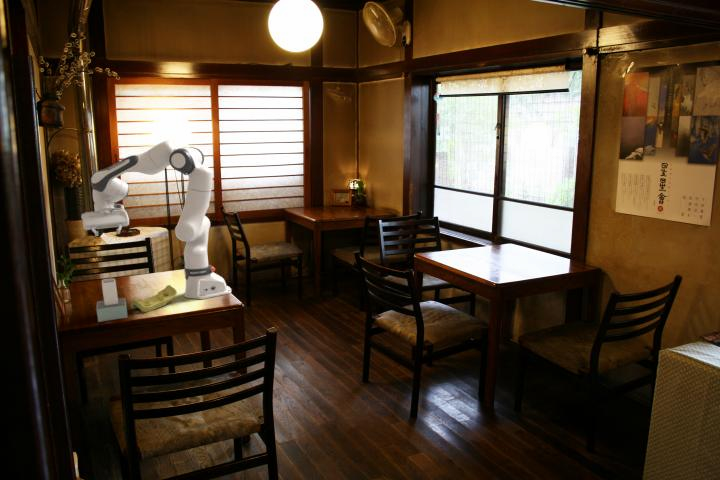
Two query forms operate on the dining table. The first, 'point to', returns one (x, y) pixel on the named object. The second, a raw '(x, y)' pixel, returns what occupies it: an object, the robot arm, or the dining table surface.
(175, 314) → the dining table surface
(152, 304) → the plastic component
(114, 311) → the stand
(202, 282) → the robot arm
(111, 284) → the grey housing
